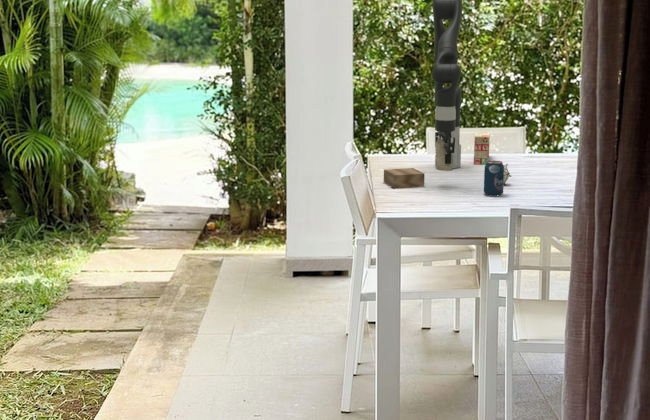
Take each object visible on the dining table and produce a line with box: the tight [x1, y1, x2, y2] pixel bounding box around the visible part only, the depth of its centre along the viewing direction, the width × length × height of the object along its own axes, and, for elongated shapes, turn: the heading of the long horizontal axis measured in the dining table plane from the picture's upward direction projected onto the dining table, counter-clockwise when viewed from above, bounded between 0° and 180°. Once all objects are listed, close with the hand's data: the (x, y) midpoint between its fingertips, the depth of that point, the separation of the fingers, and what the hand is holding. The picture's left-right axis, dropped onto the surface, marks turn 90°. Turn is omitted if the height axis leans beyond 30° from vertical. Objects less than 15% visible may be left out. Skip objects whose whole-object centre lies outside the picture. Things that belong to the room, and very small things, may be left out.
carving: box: [434, 139, 454, 172], centre depth 361 cm, size 6×8×12 cm
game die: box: [503, 163, 512, 186], centre depth 366 cm, size 9×8×10 cm
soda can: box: [483, 160, 504, 197], centre depth 348 cm, size 7×7×12 cm
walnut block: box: [383, 167, 425, 189], centre depth 367 cm, size 12×12×5 cm
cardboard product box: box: [473, 131, 491, 166], centre depth 416 cm, size 21×6×12 cm, turn 170°
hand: (444, 162), depth 361 cm, fingers closed on carving, 6 cm apart
